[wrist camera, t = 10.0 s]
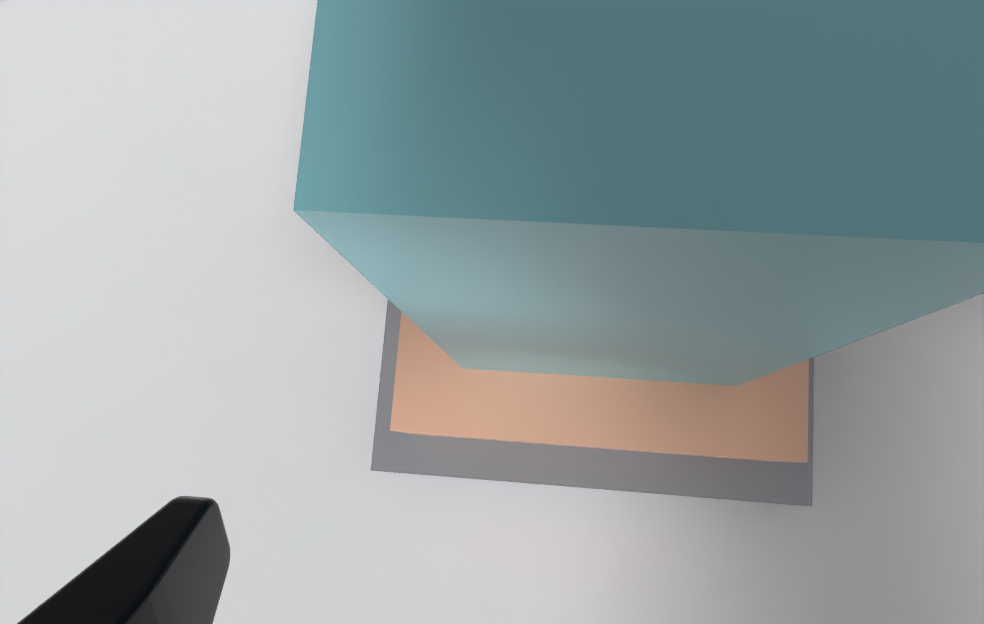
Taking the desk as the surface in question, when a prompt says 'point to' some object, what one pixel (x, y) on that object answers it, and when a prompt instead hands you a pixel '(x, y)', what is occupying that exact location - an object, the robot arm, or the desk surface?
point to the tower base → (578, 465)
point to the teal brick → (650, 175)
